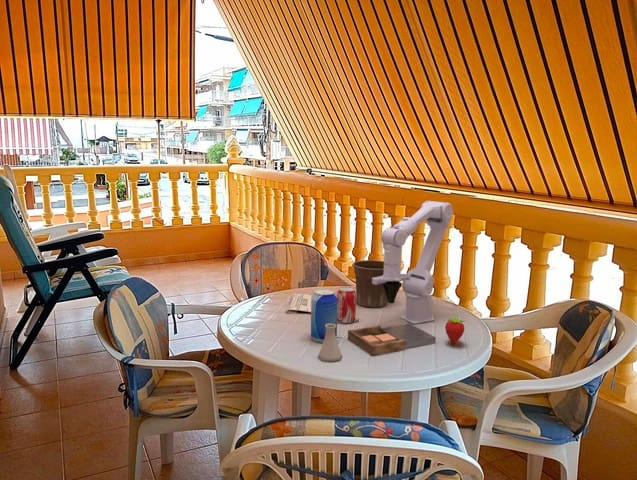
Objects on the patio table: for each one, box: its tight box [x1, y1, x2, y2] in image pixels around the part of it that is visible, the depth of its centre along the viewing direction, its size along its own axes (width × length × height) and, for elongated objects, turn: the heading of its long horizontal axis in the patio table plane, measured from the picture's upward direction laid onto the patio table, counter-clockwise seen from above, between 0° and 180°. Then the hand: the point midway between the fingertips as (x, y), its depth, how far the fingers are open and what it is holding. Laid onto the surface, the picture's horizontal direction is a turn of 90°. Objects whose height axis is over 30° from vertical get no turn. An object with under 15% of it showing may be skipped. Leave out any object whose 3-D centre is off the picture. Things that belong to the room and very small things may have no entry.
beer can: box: [310, 288, 338, 344], centre depth 165 cm, size 8×8×16 cm
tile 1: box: [362, 335, 380, 345], centre depth 162 cm, size 5×5×2 cm
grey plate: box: [381, 323, 437, 350], centre depth 167 cm, size 12×14×2 cm
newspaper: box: [285, 293, 313, 314], centre depth 201 cm, size 23×12×2 cm, turn 177°
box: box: [347, 324, 407, 357], centre depth 162 cm, size 12×15×3 cm
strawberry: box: [445, 314, 465, 345], centre depth 163 cm, size 6×8×10 cm
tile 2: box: [374, 334, 396, 344], centre depth 163 cm, size 5×5×2 cm
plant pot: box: [352, 259, 388, 309], centre depth 203 cm, size 16×16×16 cm
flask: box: [317, 324, 343, 363], centre depth 151 cm, size 7×7×10 cm
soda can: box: [336, 286, 357, 324], centre depth 182 cm, size 7×7×12 cm
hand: (390, 302), depth 175 cm, fingers closed
